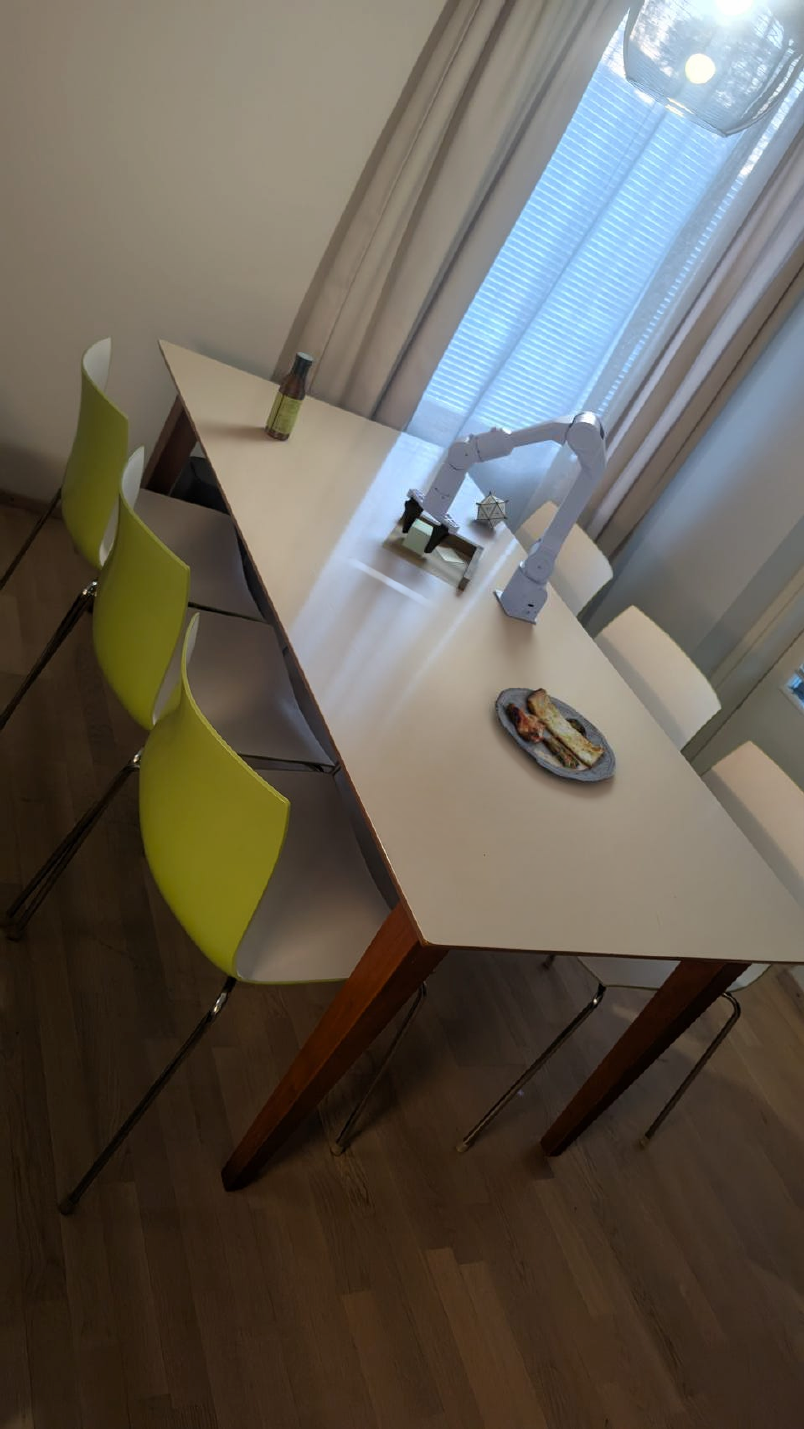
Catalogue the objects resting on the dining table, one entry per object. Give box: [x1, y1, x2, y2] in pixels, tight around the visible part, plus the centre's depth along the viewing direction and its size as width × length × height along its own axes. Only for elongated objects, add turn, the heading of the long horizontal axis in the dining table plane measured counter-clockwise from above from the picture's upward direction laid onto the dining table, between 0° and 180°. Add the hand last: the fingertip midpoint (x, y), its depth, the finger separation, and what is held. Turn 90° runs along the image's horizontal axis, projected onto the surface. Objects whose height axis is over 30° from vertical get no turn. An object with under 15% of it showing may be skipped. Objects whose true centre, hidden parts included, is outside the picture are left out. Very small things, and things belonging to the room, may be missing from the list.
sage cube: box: [402, 518, 433, 555], centre depth 230 cm, size 5×5×5 cm
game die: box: [475, 490, 510, 531], centre depth 261 cm, size 9×8×10 cm
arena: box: [381, 510, 485, 592], centre depth 232 cm, size 20×20×4 cm
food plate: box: [494, 687, 617, 782], centre depth 193 cm, size 25×23×4 cm
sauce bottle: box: [264, 351, 314, 441], centre depth 243 cm, size 7×6×20 cm
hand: (416, 542), depth 230 cm, fingers closed on sage cube, 7 cm apart
